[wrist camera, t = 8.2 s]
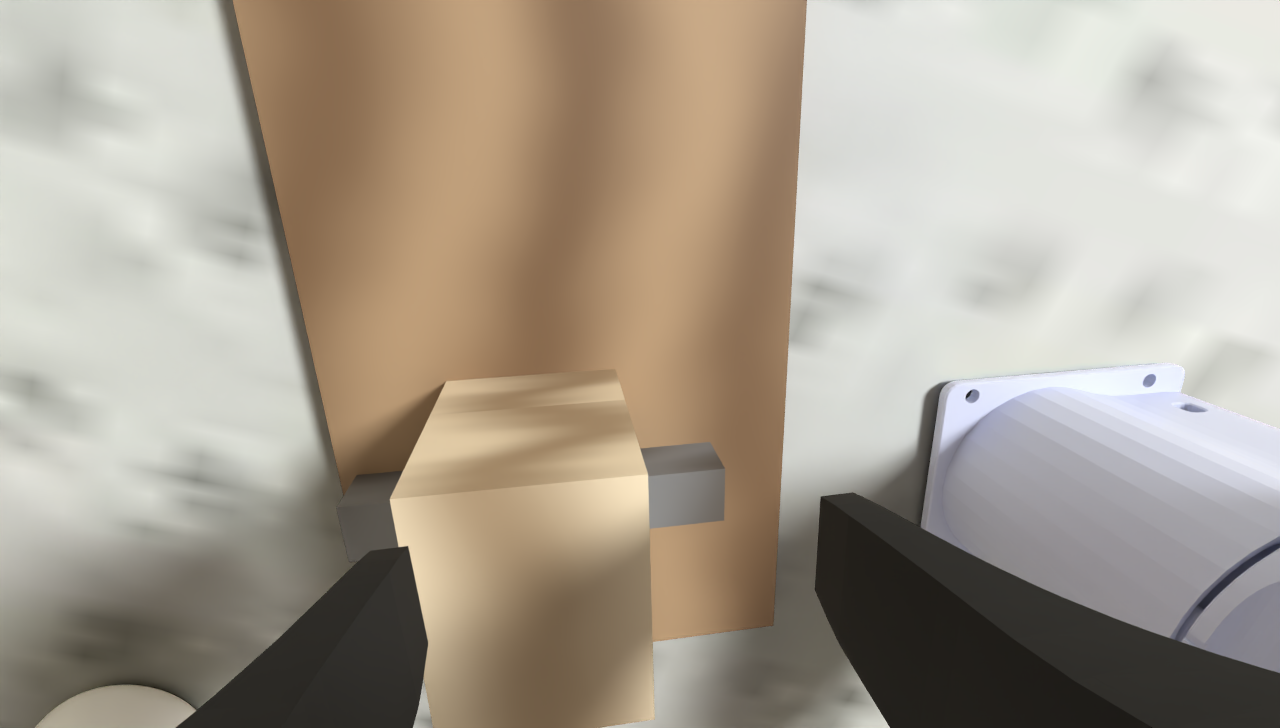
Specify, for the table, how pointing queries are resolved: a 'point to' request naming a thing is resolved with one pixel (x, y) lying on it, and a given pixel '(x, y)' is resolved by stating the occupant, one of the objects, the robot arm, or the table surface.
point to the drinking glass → (119, 709)
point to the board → (551, 241)
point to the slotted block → (531, 553)
